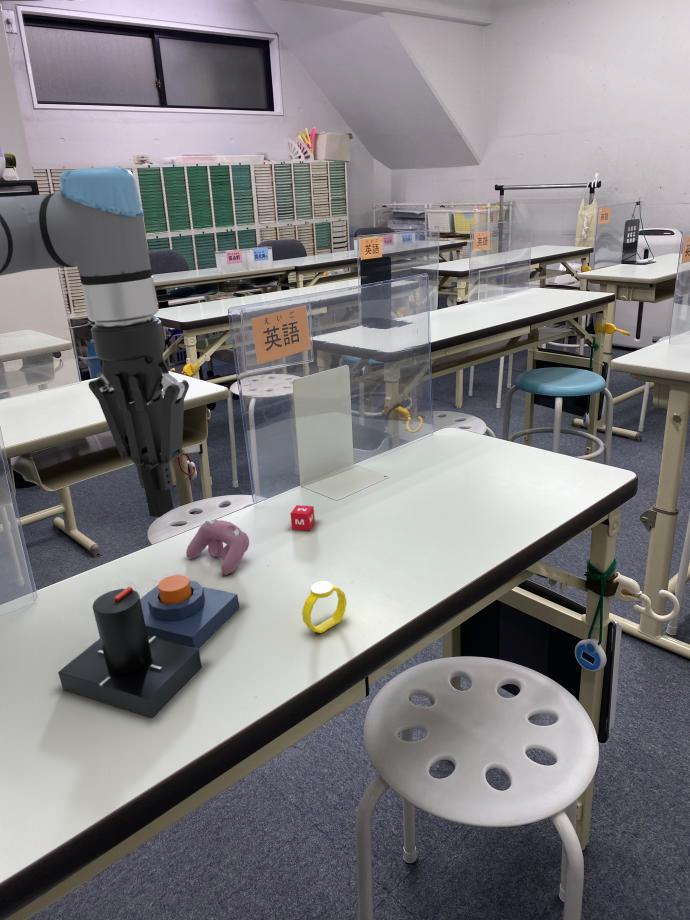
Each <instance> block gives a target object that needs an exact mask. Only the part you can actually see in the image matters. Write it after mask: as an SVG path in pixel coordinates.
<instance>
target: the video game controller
mask: <svg viewBox="0 0 690 920" xmlns="http://www.w3.org/2000/svg"><path fill="white" fill-rule="evenodd" d="M224 544H226V545H225V546H224ZM249 546H250V538H249V536H248V534H247V533H246V532H244V531H242V529H241V528H240V527H239V526H238V525H236V524H234V523H233V522H231V521H227V520H223V519H222V520H221V519H211V520H205V521H204V523H203V524H201V525H200V527H199V529H198V530H197V532H196V533H195V535H194V536H193V538H192V540H190V542H189V544H188V546H187V547H186V548H187V549H186V557H187V558H188V559H191V560H192V559H194V558H197V557H198V556H199V555H200V554H201V553H203V551H204V550H205V549H206V548H207V547H208V554H209V555H210V556H213V557H220V556H221V560H222V564H221V567H220V568H221V573H222V574H223V575H227V576H228V575H230V574H231V573H232V572H234V571H235V570H236V569H237V568H238V566H239V565H240V563H241V562H242V560H243V557H244V555H245V553H246V552H247V551H248V549H249Z"/></svg>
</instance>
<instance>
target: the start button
mask: <svg viewBox="0 0 690 920" xmlns="http://www.w3.org/2000/svg"><path fill="white" fill-rule="evenodd" d="M157 585H158V590H159V595H160V600H161V602H162V603H165V604H175V603H180V602H183V601H185V600H187V599H188V598H190V597H191V595H192V592H191V586H190V578H189V577H188V576H187V575H184V574H173V575H169V576H167V577H164V578H162V579H161V580H160V581H159V582H158V584H157Z"/></svg>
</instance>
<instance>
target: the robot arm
mask: <svg viewBox="0 0 690 920" xmlns="http://www.w3.org/2000/svg"><path fill="white" fill-rule="evenodd" d="M144 214H145V213H144V210H143V209H142V204H141V200H140V195H139V192H138V187H137V183H136V179H135V176H134V174H133V173H132V172H131V171H130V170H128V169H127V168H125V167H121V166H106V167H105V166H104V167H102V166H101V167H85V168H77V169H70V170H65V171H63V172H61V173H60V176H59V191H57V192H52V193H48V194H36V195H35V194H32V195H16V196H0V276H1V277H2V276H6V275H12V274H15V273H16V274H17V273H22V272H27V271H34V270H46V269H57V268H74V267H76V268H77V271H78V276H79V278H80V283H81V288H82V289H81V290H82V292H83V299H84V305H85V309H86V315H87V319H88V320H89V321H90V322H92V323H94V324H93V325H92V326H91V328H90V331H91V337H92V342H93V347H94V352H95V356H96V357H97V358H98V359H99V360H101V361H102V366H101V372H102V374H100V376H99V377H98V378H96V379H93V380H90V381H88V388H89V390H90V391H91V393H92V394H93V396H94V397H95V398H96V399H97V402H98V403H99V406H100V409H101V411H102V414H103V416H104V418H105V421H106V423H107V426H108V428H109V430H110V433H111V436H112V439H113V441H114V443H115V446H116V448H117V452H118V454H119V456H120V458H121V459H124V460H125V459H129V460H131V461H132V462H133V464H134V465H136V471H137V474H138V475H137V476H138V479H139V484H140V486H141V488H142V489H144V493H145V497H146V503H147V508H148V513H149V516H150V517H154V518H161V517H162V516H164V515H166V514H167V513H169V512H171V511H172V510H173V509H174V503H173V498H172V492H171V487H173V484H174V483H173V478H172V472H171V471H172V470H171V465H170V463H171V462H172V461H175V459H178V458H179V457H181V456H182V454H183V439H184V438H183V437H184V436H183V435H184V414H185V413H184V411H185V399H186V396H187V392H189V388H190V383H189V382H188V381H187V380H185V379H182V380H178V379H177V378H175V377H173V375H172V374H170V371H169V370H170V369H169V367H168V365H167V363H166V362H165V359H164V351H165V347H166V343H165V337H164V331H163V326H162V320H160V319H159V318H158V316H155V315H156V314H157V313H158V312H159V303H158V299H157V293H156V288H155V282H154V276H153V269H152V266H151V260H150V252H149V247H148V241H147V234H146V227H145V221H144V216H145V215H144Z"/></svg>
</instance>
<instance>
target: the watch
mask: <svg viewBox="0 0 690 920" xmlns="http://www.w3.org/2000/svg"><path fill="white" fill-rule="evenodd" d="M334 592H336V595H337V599H338V600H337V605H336V609H335V610H334V613H333V614H332V615H331V617H329V618H327V619H326V620H324V621H323V622H321V623H320V624H318V625H313V623H312V615H311V614H312V611H313V608H314V605H315V604H316V602H317V601H318V600H319V599H323V598H327V597H329V596H331V595H332V594H333V593H334ZM347 602H348V601H347V598H346V594H345V592H344V591H343V590H342V589H340V587H338V586H336V585H334V584H332V582H330V581H327V580H321V581H317V582H314V583H313V584H312V585H311V586H310V593H309V595H307V598H306V599H305V601H304V604H303V607H302V611H301V613H302V614H301V616H302V621H303V623H304V624H305V625H306V626H307V628H308V629H310V630H311V631H313V632H314V633H318V634H323V633H325V632H326V631H327V630H329V629H331V628H332V627H335V626H336V625H337V624H340V622H341V621H342V619H343V617H344V615H345V613H346V608H347Z"/></svg>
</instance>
